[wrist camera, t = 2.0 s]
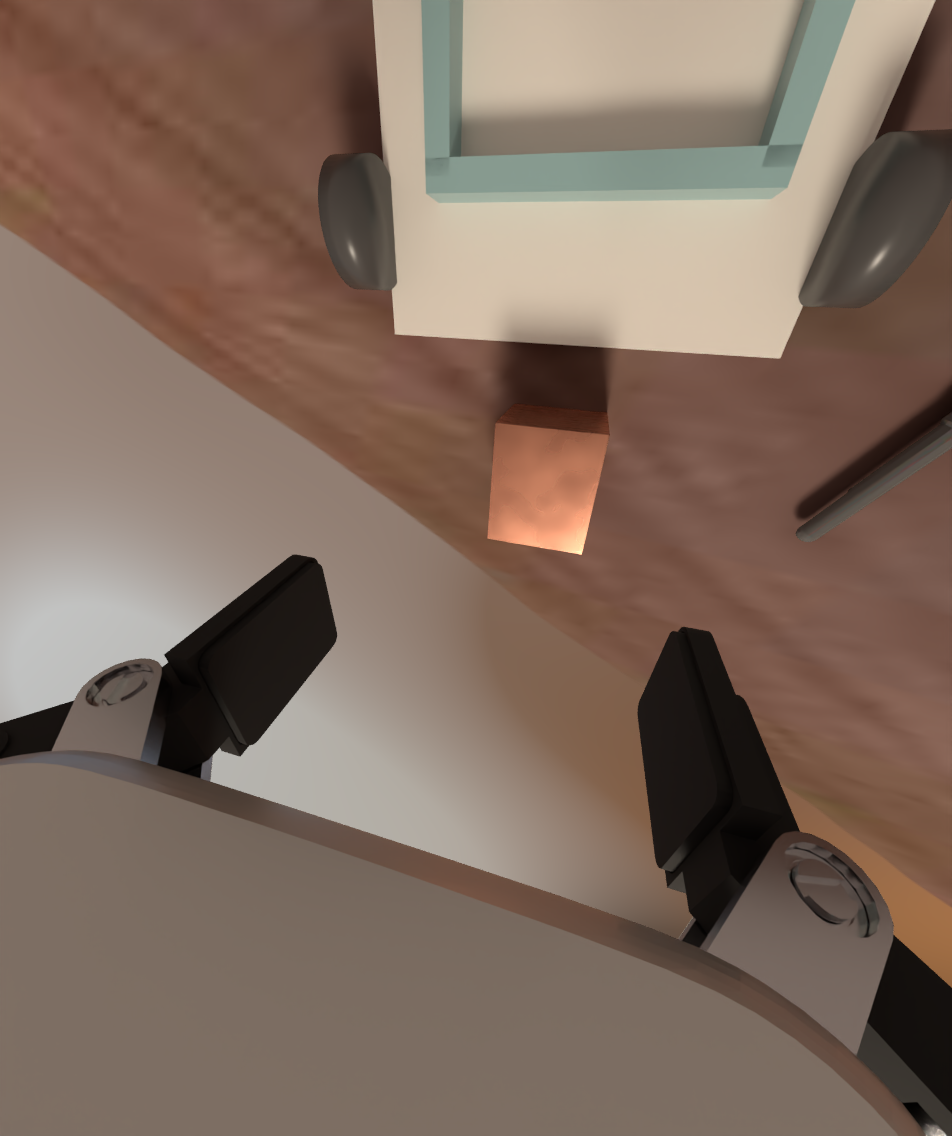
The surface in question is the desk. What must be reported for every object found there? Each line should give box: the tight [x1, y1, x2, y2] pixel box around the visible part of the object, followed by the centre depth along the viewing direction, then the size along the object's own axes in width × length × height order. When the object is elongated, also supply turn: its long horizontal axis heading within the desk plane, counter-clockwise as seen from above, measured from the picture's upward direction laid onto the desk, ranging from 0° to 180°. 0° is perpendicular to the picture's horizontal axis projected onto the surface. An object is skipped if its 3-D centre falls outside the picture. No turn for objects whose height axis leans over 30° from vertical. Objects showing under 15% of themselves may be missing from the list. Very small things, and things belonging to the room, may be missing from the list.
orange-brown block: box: [488, 404, 610, 554], centre depth 20 cm, size 5×6×5 cm
